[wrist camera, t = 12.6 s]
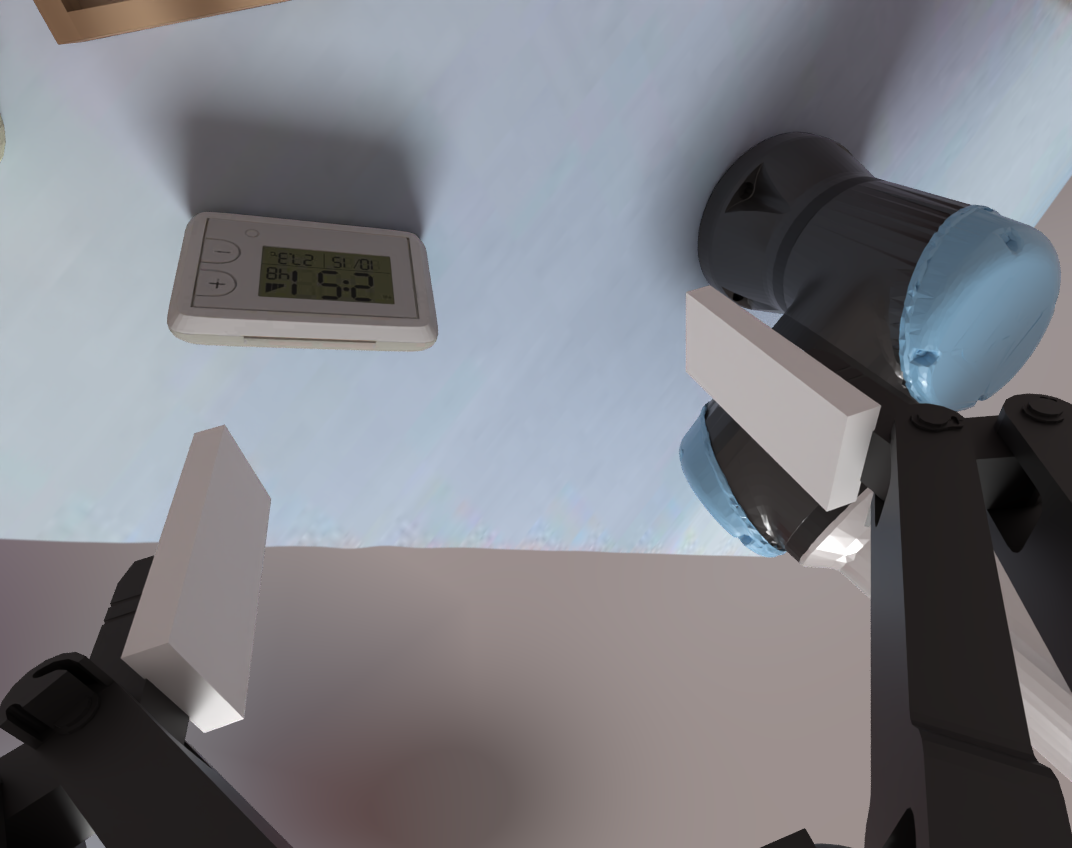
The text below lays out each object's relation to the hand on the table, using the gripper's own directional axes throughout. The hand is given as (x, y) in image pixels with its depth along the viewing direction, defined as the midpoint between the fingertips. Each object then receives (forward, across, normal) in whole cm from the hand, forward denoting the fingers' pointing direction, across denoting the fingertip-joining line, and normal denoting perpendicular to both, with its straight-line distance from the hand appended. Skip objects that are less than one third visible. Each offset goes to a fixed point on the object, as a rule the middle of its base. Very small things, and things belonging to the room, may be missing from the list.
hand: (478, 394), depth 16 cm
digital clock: (+32, +7, +5) cm, 33 cm away
